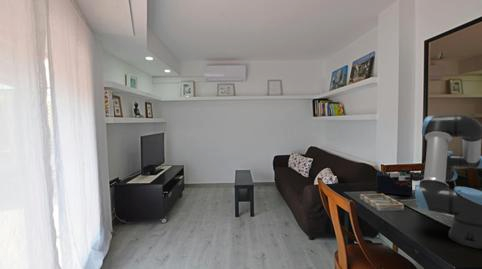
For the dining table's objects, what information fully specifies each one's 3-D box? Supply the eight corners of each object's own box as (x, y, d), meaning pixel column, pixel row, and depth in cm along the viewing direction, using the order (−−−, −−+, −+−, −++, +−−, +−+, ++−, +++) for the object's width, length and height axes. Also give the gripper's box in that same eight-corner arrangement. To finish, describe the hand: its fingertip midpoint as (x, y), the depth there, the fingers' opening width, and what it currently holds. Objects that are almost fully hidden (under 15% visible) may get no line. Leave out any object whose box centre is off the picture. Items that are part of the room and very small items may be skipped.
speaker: (409, 192, 185) (409, 172, 184) (412, 197, 174) (412, 176, 173) (376, 189, 195) (376, 170, 194) (376, 194, 184) (376, 174, 183)
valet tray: (403, 210, 151) (403, 204, 151) (378, 211, 151) (378, 205, 151) (382, 198, 173) (382, 193, 173) (360, 199, 173) (360, 194, 173)
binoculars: (389, 169, 166) (404, 167, 166) (391, 185, 167) (406, 183, 166) (397, 172, 157) (413, 170, 157) (399, 188, 158) (415, 186, 157)
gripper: (442, 185, 151) (405, 186, 151) (418, 177, 172) (385, 178, 172) (443, 173, 151) (405, 174, 151) (418, 166, 172) (385, 167, 172)
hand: (394, 176), depth 162 cm, fingers closed on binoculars, 8 cm apart
